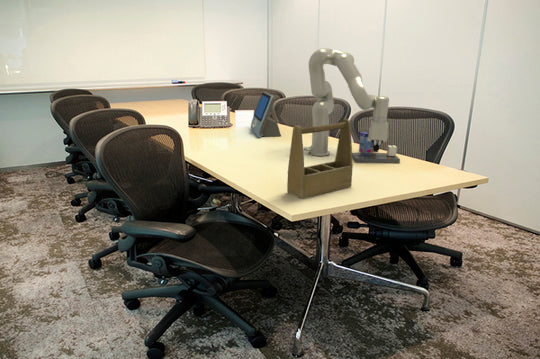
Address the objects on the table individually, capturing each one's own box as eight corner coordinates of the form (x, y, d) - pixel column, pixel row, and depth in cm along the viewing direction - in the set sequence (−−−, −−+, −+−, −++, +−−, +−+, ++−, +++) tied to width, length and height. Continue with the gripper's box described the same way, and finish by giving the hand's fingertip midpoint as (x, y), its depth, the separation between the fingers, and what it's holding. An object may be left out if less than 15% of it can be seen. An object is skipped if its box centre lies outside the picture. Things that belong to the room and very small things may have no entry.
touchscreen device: (248, 129, 322) (249, 90, 314) (273, 129, 326) (274, 91, 317) (255, 138, 289) (257, 95, 281) (282, 138, 293) (285, 95, 285)
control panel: (355, 162, 227) (356, 158, 226) (351, 156, 241) (351, 152, 240) (399, 163, 227) (400, 158, 226) (392, 157, 240) (393, 152, 239)
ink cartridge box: (364, 153, 248) (365, 129, 244) (358, 151, 253) (359, 128, 249) (376, 152, 253) (378, 128, 248) (370, 150, 257) (372, 127, 253)
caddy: (302, 199, 170) (304, 127, 162) (286, 192, 179) (287, 123, 170) (351, 186, 187) (356, 120, 178) (335, 181, 195) (338, 117, 186)
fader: (388, 155, 230) (389, 146, 229) (386, 154, 235) (387, 145, 233) (396, 155, 230) (396, 147, 229) (393, 154, 235) (394, 145, 233)
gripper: (367, 119, 223) (363, 152, 229) (395, 120, 223) (390, 153, 229) (364, 117, 231) (361, 149, 236) (391, 118, 230) (387, 150, 236)
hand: (375, 151), depth 233 cm, fingers closed
